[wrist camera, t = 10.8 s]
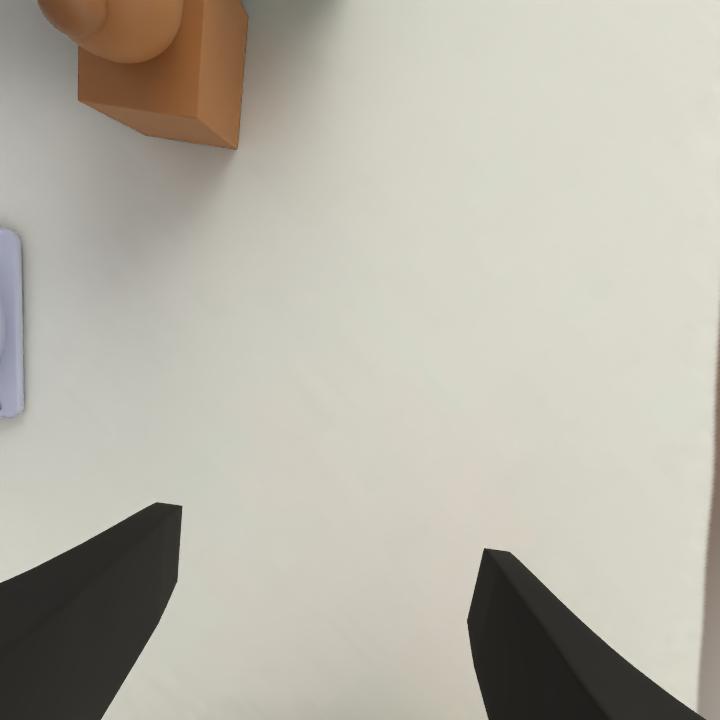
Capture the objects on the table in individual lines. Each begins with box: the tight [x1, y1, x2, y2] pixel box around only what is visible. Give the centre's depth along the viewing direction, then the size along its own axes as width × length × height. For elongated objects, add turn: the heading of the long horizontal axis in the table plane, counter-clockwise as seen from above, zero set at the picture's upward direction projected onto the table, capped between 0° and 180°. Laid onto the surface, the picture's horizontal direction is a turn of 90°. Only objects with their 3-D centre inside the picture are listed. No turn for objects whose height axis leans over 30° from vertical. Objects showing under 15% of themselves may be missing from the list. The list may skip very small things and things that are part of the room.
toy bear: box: [37, 0, 248, 149], centre depth 14 cm, size 4×5×8 cm
